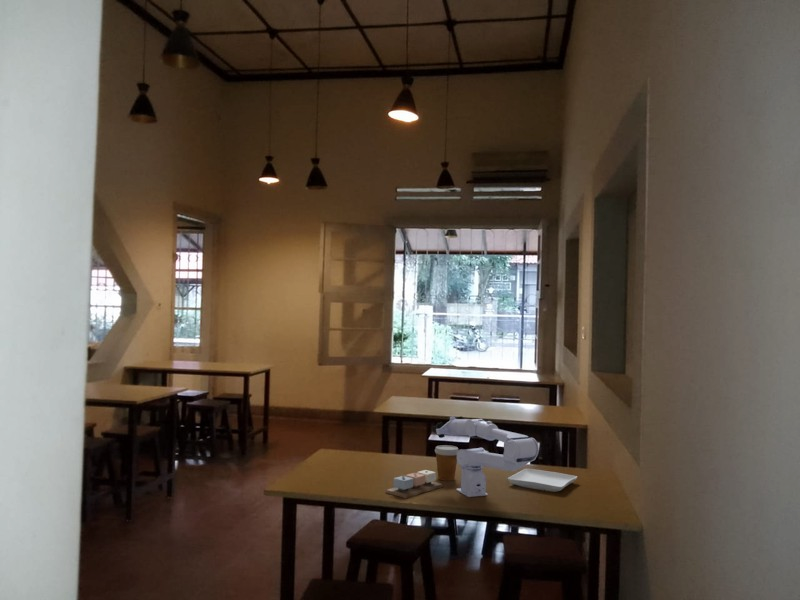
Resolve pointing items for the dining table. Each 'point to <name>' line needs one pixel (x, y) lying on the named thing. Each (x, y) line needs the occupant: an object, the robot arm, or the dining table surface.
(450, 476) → the disposable coffee cup
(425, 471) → the key one
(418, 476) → the key two
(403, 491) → the board
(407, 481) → the key three
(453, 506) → the dining table surface
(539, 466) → the dining table surface
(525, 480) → the salad plate
